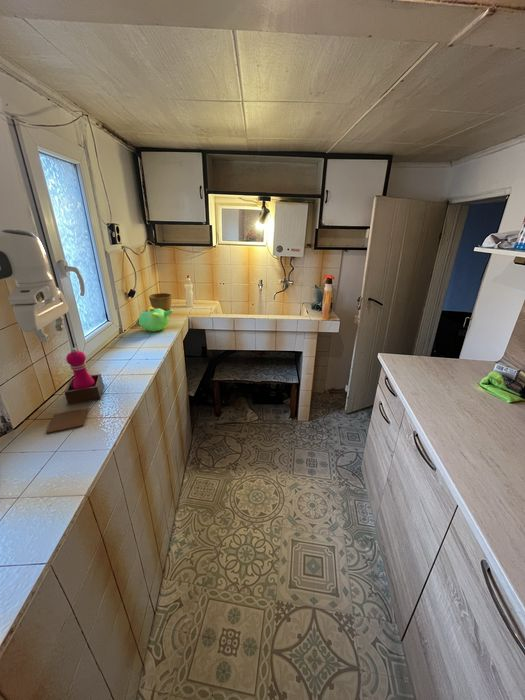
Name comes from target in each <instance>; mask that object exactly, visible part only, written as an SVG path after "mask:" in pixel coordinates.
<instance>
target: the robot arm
mask: <svg viewBox="0 0 525 700" xmlns="http://www.w3.org/2000/svg"><path fill="white" fill-rule="evenodd" d="M9 279H12V280H13V281H14V283H15V286H16V287H14V289H13V290H12V291H11V293H10V294H9V295H8V296H7V302H8V303H9V304H10V305H13V306H12V311H13V314H14V318H15V321H16V322H17V325H18V327H19V329H20V330H21V331H22V332H24V333H34V335H36V336H37V338H38V340H39V342H40V343H47V342H48V341H49V340H50V338H49V334H46V333H45V327H47V326H48V325H50V324H51V323H53V322H55V325H54V328H55V331H57V332H62V331H64V330H65V326H64V320H65V319H64V318H65V317H64V315H66V314H67V313H69V304H68V302H67V300H66V298H65V295H64V293H63V292H62V291H61V290H60V288H59V287H57V286H56V282H55V279H54V276H53V274H52V273H51V271H50V263H49V259H48V256H47V253H46V251H45V248H44V246H43V244H42V242H41V240H40V238H39V237H38V235H36V234H35V233H33V232H30V231H26V230H19V229H2V230H0V281H5V280H9Z"/></svg>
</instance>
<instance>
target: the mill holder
mask: <svg viewBox="0 0 525 700" xmlns="http://www.w3.org/2000/svg"><path fill="white" fill-rule="evenodd" d="M90 376H91V377H92V378H93V379H94V381H95V386H94V387H88V388H82V389H76V390H74V389H73V381H74V377H73V378H70V379H69V381H68V383H67V385H66V388H65V389H64V396H65V398H66V401H67V404H68V406H70V405H75V404H76V405H77V404H81V403H86V402H87V403H88V402H92V401H93V402H94V401H98V400H101V399H102V396H103V391H104V387H105V385H104V379H103V377H102V374H101V373H99V374H92V375H90Z"/></svg>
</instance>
